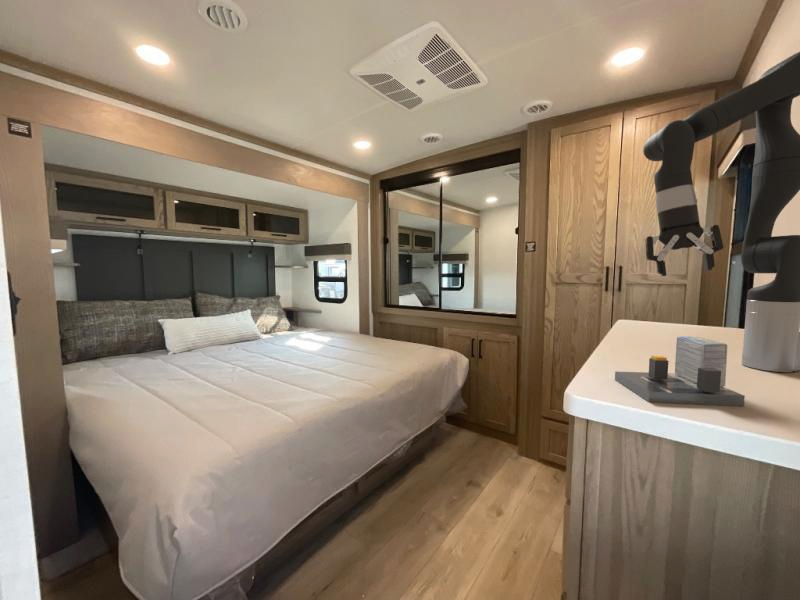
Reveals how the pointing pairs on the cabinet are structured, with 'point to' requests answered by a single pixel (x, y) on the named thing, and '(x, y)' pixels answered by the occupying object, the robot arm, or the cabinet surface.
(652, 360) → the block
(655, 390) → the board
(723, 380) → the light grey block
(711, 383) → the block
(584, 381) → the cabinet surface
